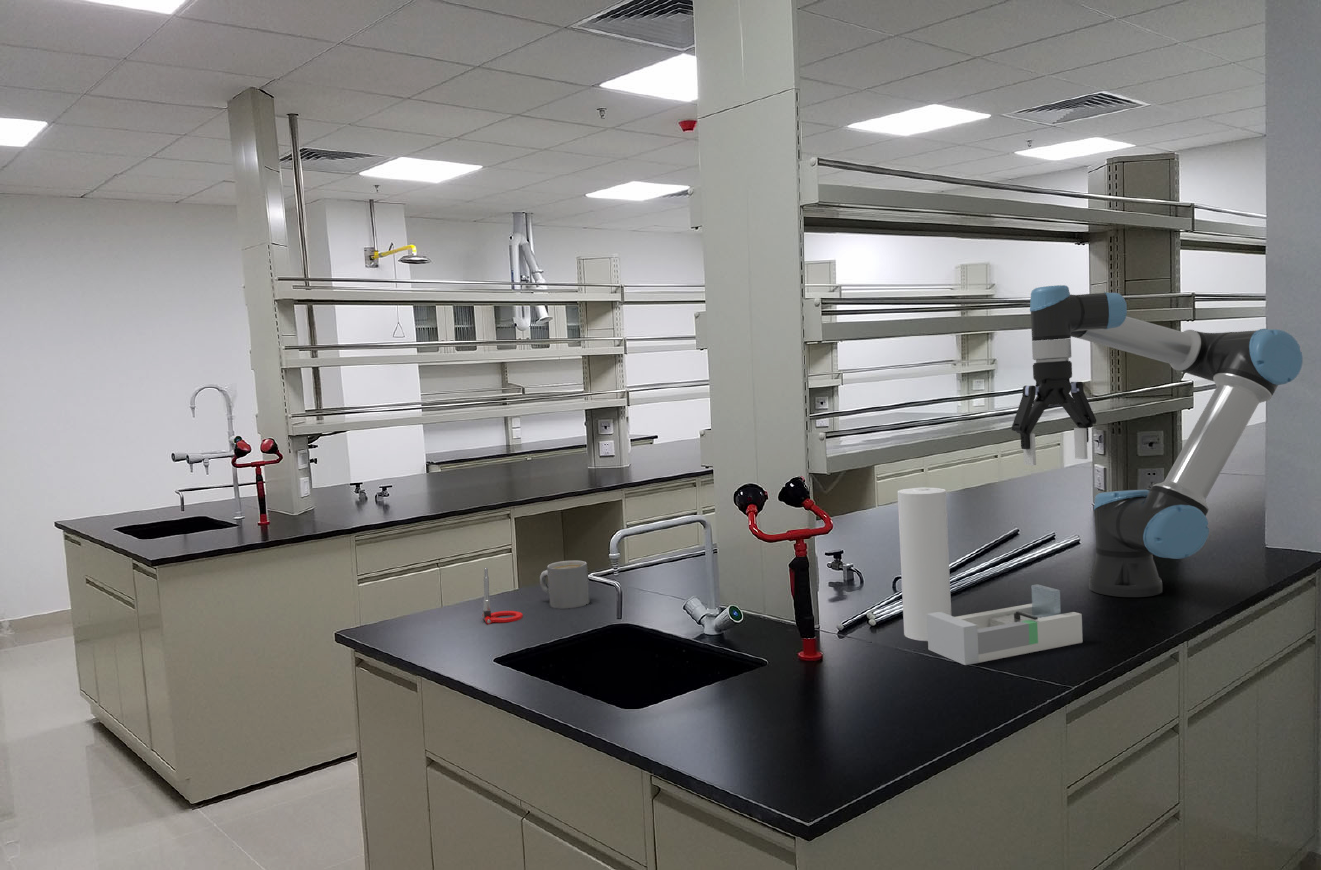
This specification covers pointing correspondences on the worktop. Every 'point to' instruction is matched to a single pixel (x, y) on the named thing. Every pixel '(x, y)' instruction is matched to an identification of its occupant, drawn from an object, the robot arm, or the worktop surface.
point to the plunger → (1034, 606)
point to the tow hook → (490, 616)
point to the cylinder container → (923, 557)
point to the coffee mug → (566, 584)
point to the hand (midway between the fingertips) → (1055, 461)
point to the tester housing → (999, 634)
